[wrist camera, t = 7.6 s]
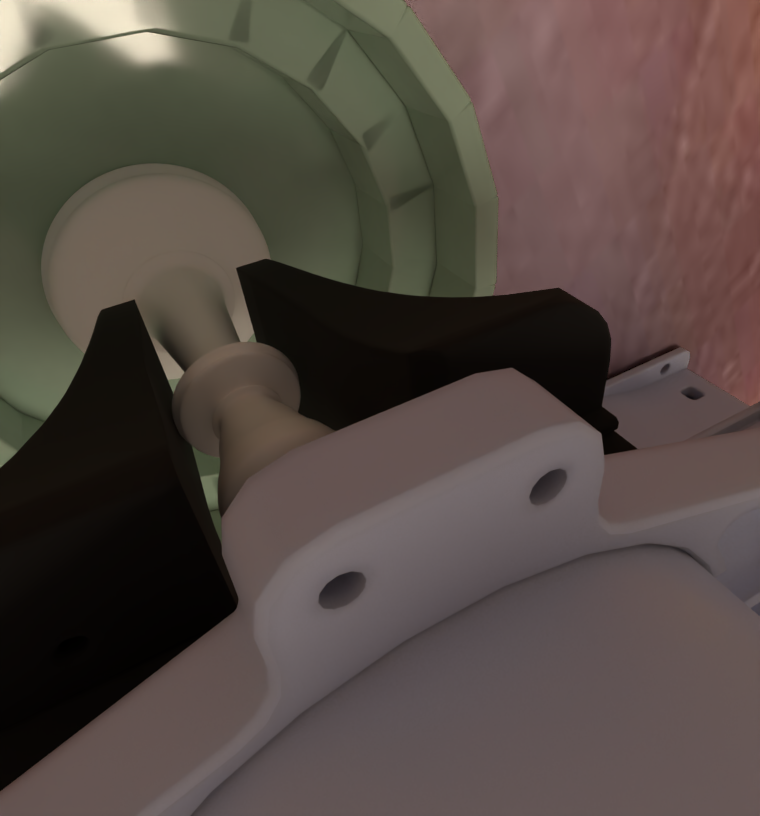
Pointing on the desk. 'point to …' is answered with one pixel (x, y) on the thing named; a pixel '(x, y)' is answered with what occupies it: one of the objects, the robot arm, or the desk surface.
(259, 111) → the bowl
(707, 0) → the desk surface
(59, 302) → the chess piece
